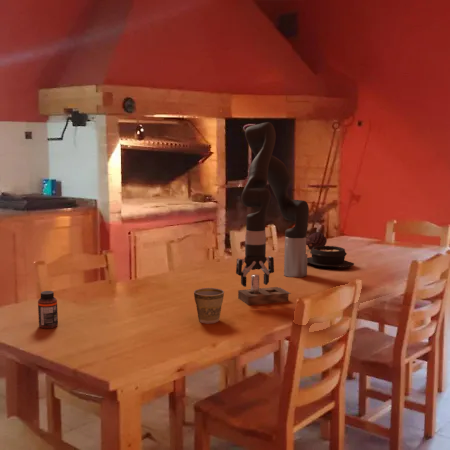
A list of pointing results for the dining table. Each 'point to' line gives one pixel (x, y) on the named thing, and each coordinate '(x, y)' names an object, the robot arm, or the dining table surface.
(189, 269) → the dining table surface
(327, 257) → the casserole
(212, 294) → the ceramic cup
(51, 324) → the supplement bottle
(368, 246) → the dining table surface
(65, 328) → the dining table surface
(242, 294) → the socket block
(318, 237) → the pine cone
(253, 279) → the pin
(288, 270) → the robot arm
